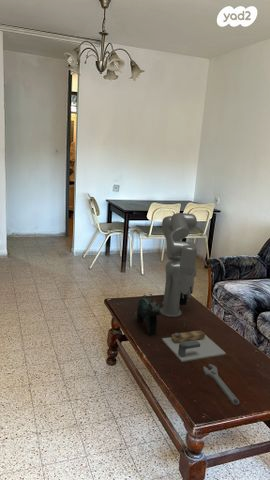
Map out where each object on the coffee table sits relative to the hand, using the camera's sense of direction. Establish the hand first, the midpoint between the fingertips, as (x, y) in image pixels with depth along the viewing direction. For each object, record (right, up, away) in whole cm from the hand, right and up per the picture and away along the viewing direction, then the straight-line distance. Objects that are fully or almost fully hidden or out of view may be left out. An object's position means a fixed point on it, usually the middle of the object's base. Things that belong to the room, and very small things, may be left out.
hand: (182, 304), depth 184 cm
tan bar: (+2, -17, -2) cm, 17 cm away
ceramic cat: (-19, -14, +8) cm, 25 cm away
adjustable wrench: (+10, -28, -34) cm, 45 cm away
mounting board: (+4, -20, -7) cm, 21 cm away
